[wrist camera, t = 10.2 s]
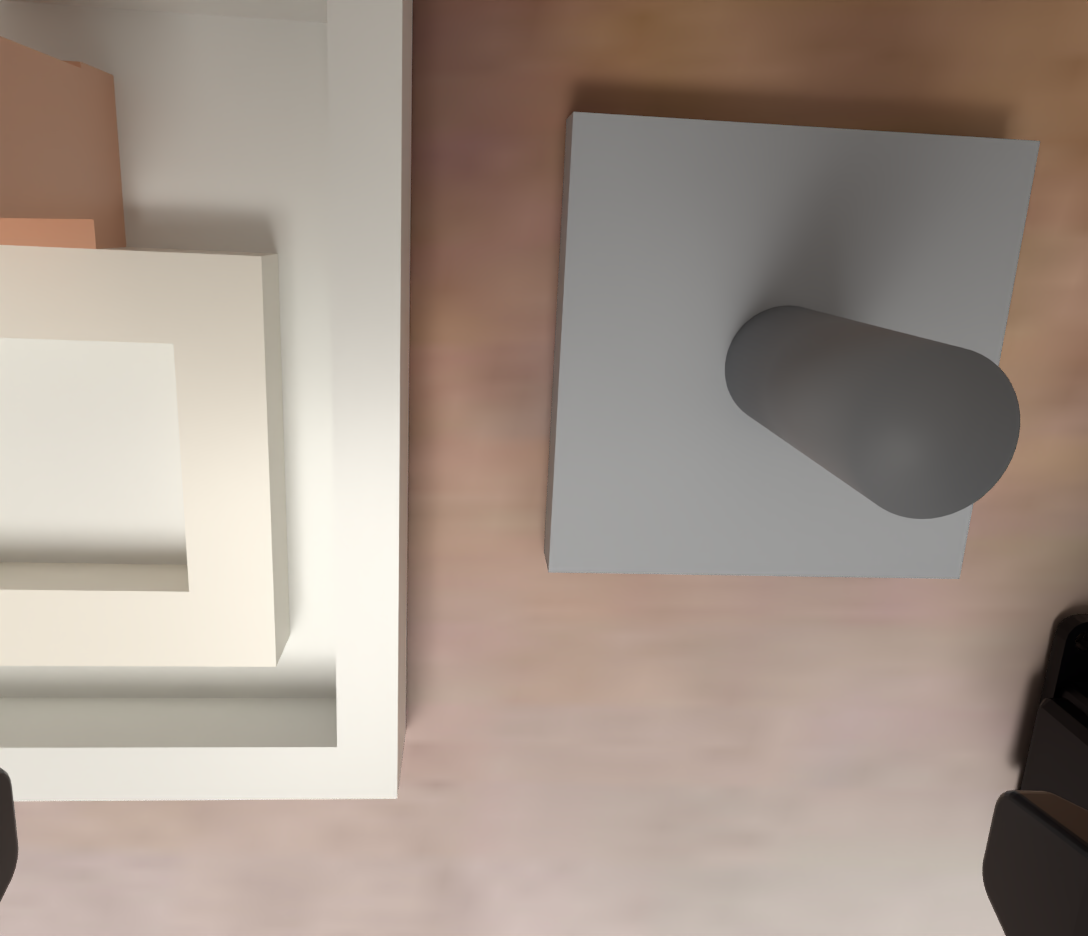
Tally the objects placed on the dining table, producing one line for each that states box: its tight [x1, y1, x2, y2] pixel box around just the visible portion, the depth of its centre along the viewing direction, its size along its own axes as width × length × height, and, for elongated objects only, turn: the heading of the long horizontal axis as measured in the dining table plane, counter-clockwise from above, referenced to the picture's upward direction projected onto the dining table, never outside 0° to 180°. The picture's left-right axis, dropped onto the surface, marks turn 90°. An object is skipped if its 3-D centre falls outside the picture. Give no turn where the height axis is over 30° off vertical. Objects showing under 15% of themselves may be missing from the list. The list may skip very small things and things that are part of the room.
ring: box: [0, 36, 290, 667], centre depth 15 cm, size 8×11×5 cm
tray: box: [0, 0, 413, 801], centre depth 17 cm, size 13×16×2 cm
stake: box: [544, 112, 1040, 579], centre depth 15 cm, size 9×9×7 cm
